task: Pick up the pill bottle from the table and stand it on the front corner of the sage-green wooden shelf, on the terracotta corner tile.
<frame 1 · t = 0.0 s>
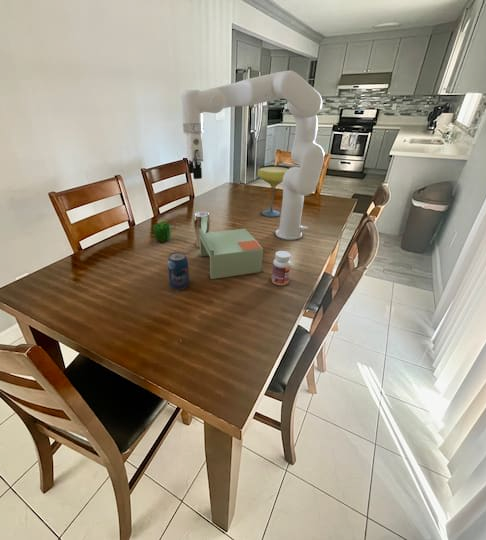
hand: (195, 175, 118), 31 cm above the table, tool pointing down, fingers open, 9 cm apart
beer glass: (202, 245, 134), on the table
soda can: (179, 285, 106), on the table
shelf: (229, 262, 120), on the table
pill bottle: (279, 281, 108), on the table
bell pepper: (162, 240, 139), on the table
cocktail glass: (270, 213, 169), on the table
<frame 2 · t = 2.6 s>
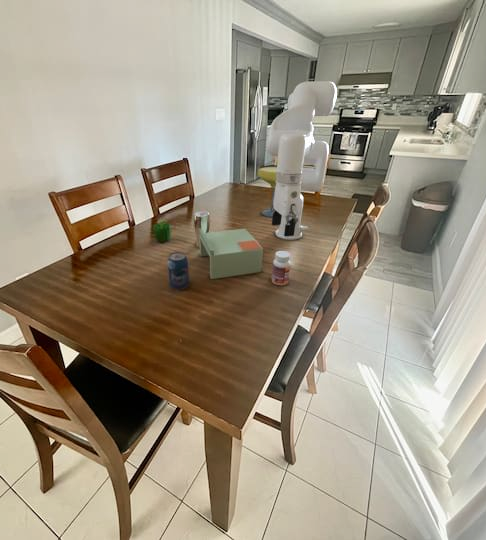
hand: (282, 230, 98), 20 cm above the table, tool pointing down, fingers open, 9 cm apart
nothing on the table moved.
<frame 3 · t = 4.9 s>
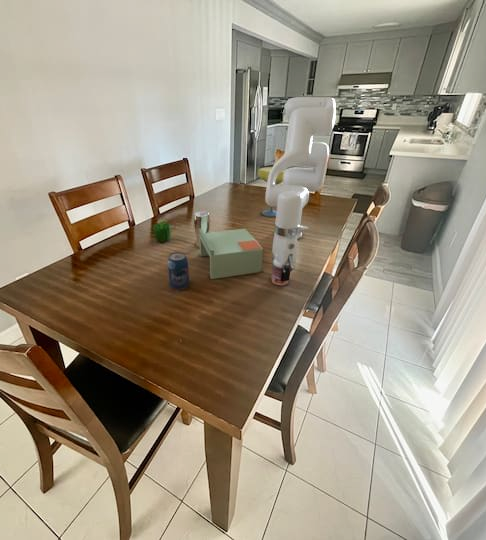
hand: (280, 275, 107), 3 cm above the table, tool pointing down, fingers closed on pill bottle, 6 cm apart
pill bottle: (279, 281, 108), on the table, touching gripper
everything else where it was.
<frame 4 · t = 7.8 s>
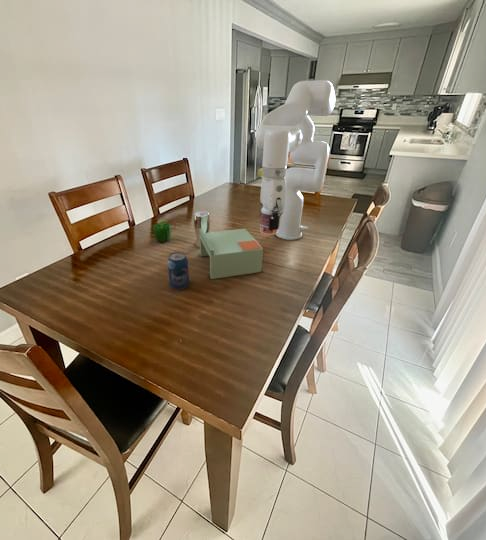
hand: (269, 225, 102), 20 cm above the table, tool pointing down, fingers closed on pill bottle, 6 cm apart
pill bottle: (268, 232, 103), point 17 cm above the table, touching gripper
everything else where it was.
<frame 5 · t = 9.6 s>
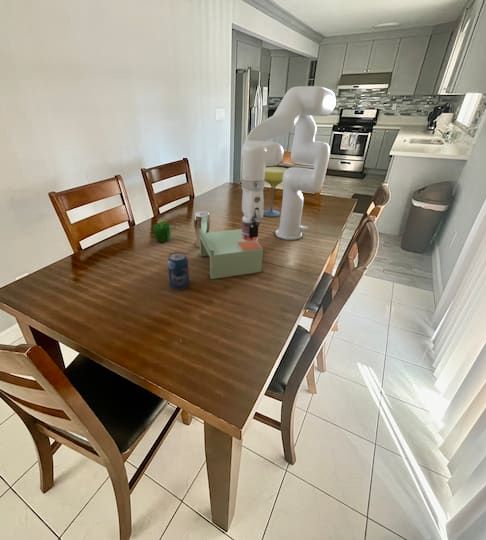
hand: (250, 232, 108), 15 cm above the table, tool pointing down, fingers closed on pill bottle, 6 cm apart
pill bottle: (249, 239, 110), point 12 cm above the table, touching gripper
everything else where it was.
when the fingers open (13 cm above the table, at t = 10.8 s): pill bottle stays where it is, resting on shelf.
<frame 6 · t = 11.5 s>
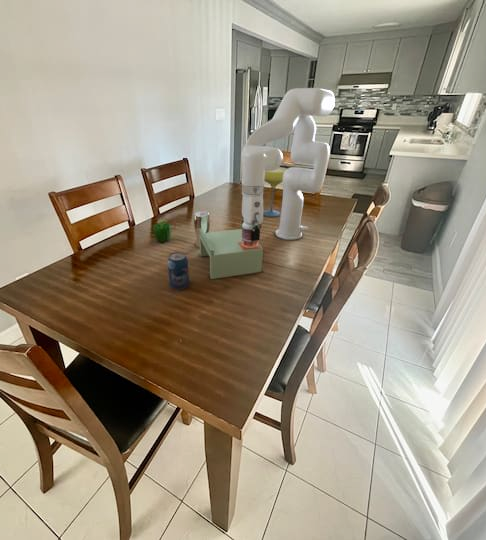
hand: (250, 235, 109), 14 cm above the table, tool pointing down, fingers open, 9 cm apart
pill bottle: (249, 245, 111), point 10 cm above the table, touching shelf
everything else where it was.
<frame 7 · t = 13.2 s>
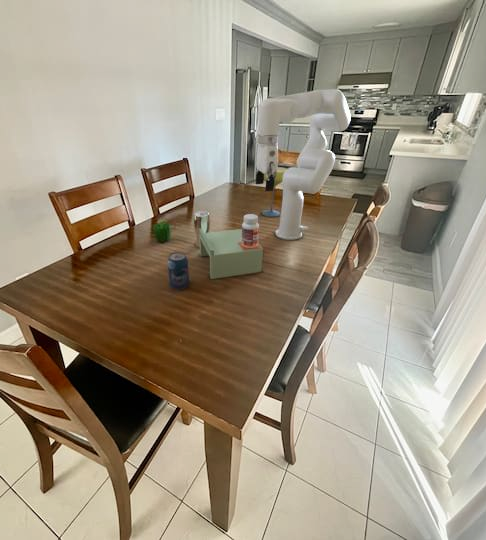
hand: (264, 187, 115), 28 cm above the table, tool pointing down, fingers open, 9 cm apart
nothing on the table moved.
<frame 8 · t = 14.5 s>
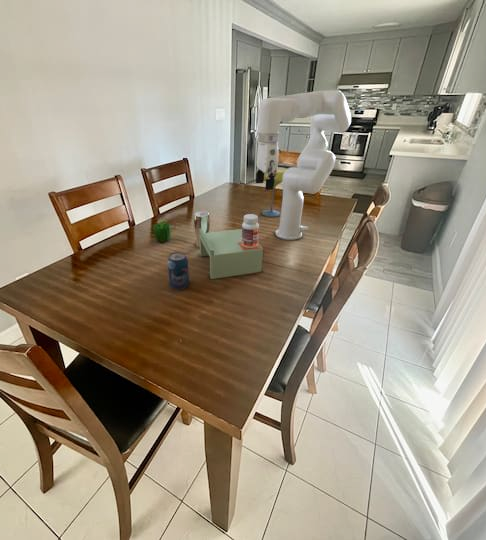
hand: (264, 186, 115), 28 cm above the table, tool pointing down, fingers open, 9 cm apart
nothing on the table moved.
at the end: pill bottle inside the target area on the shelf (0.6 cm from its centre), point 10.0 cm above the shelf's base; pill bottle tilted 0°; the gripper is holding nothing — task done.
